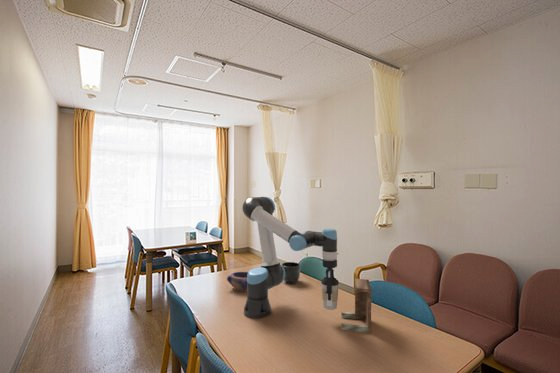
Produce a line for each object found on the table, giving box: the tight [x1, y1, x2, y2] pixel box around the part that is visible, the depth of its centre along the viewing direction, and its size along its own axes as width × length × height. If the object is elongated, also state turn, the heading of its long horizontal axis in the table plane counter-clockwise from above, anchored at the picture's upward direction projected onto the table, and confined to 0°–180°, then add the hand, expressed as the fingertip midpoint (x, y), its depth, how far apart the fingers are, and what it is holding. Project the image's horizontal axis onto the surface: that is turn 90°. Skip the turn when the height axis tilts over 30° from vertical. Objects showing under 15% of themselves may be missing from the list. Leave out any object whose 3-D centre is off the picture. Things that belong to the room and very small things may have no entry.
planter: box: [281, 261, 301, 285], centre depth 206 cm, size 14×14×13 cm
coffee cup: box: [320, 276, 339, 311], centre depth 146 cm, size 9×9×15 cm
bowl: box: [226, 271, 249, 291], centre depth 193 cm, size 18×18×10 cm
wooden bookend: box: [340, 278, 372, 334], centre depth 143 cm, size 14×14×21 cm
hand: (329, 302), depth 146 cm, fingers closed on coffee cup, 8 cm apart
